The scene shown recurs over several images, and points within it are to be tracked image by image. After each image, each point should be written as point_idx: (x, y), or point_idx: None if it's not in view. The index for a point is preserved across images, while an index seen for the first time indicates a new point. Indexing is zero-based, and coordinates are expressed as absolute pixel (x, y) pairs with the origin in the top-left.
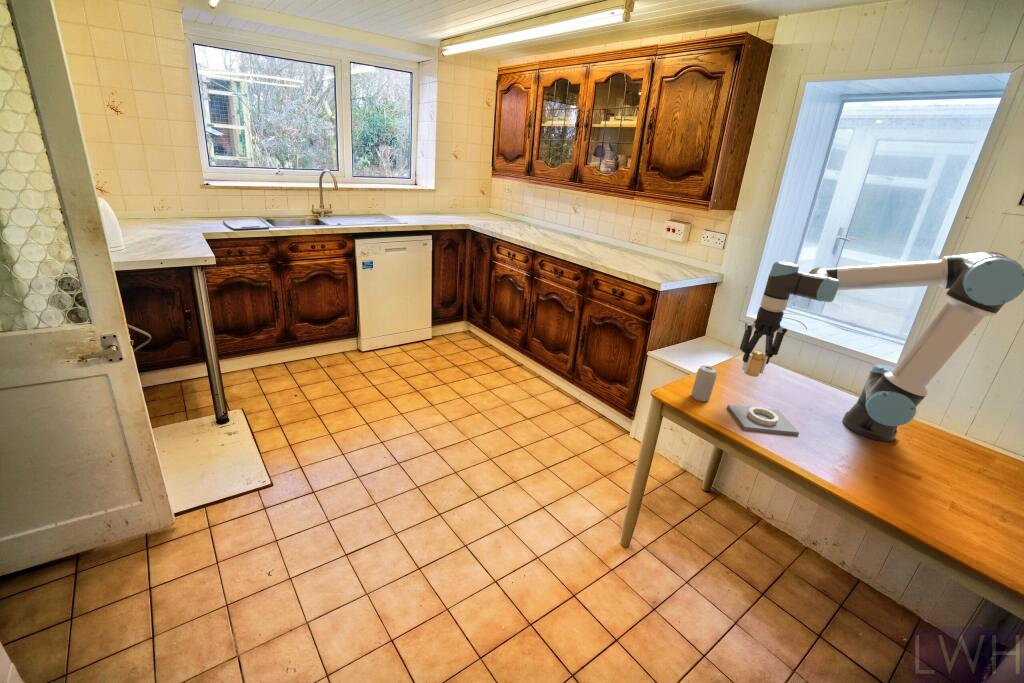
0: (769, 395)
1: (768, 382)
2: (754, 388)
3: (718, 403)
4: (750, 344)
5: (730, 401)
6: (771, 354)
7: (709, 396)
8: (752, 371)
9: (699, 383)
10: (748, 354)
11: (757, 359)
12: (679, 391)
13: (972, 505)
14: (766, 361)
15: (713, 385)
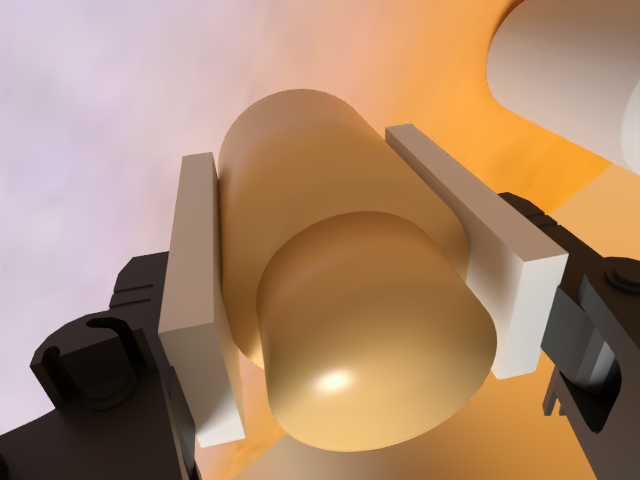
0: (45, 253)
1: (37, 398)
2: None
3: (436, 13)
4: None
5: (340, 74)
6: (72, 409)
7: (531, 12)
8: (345, 113)
9: None
10: (604, 258)
11: (379, 220)
12: None
13: None
14: (171, 256)
15: (578, 36)
